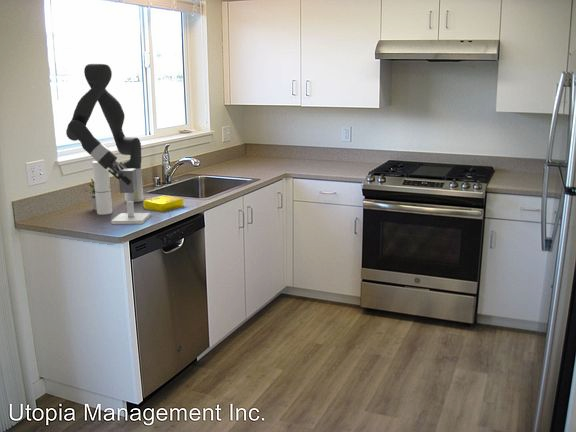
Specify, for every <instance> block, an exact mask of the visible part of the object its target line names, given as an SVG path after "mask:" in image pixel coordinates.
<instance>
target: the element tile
mask: <svg viewBox="0 0 576 432" xmlns="http://www.w3.org/2000/svg"><path fill="white" fill-rule="evenodd" d="M142 202H143V208H144V210H145V209H146V210H149V211H155V212H161V213H162V212H168V211H172V210H175V209H178V208H183V207H184V198H183V197H177V196H171V195H165V194H163V195H159V196H155V197H152V198H151V197H149V198H147V199H143V201H142Z"/></svg>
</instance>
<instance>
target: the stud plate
mask: <svg viewBox="0 0 576 432" xmlns="http://www.w3.org/2000/svg"><path fill="white" fill-rule="evenodd" d="M126 209H127V210H126V212H121V213H119V214H118V215H116V216H115V217H114V218H113V219H112V220H111V221H110V223H111V225H143V224H144V223H145V222H147V220H148V219H149V218H150V217H151V212H135V206H134V202H133V201H128V202H126Z"/></svg>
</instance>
